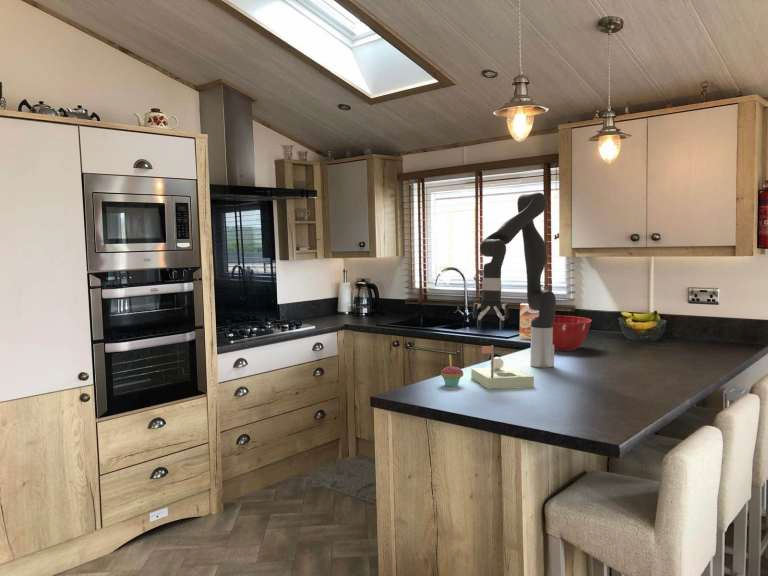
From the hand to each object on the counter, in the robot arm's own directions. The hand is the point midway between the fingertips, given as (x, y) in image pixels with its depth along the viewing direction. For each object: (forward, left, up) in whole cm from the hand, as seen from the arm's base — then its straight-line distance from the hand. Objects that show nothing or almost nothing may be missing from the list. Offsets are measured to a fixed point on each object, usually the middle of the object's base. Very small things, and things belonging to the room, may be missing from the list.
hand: (490, 329), depth 252 cm
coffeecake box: (-58, -88, -19) cm, 108 cm away
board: (0, +12, -19) cm, 22 cm away
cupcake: (+20, +13, -19) cm, 30 cm away
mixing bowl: (-58, -54, -19) cm, 82 cm away
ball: (0, +7, -13) cm, 14 cm away
